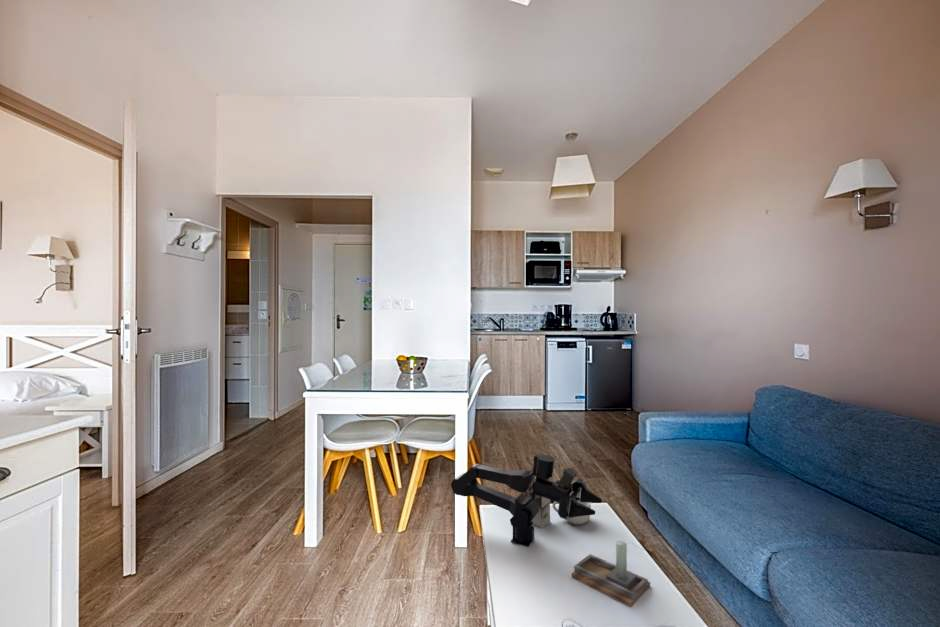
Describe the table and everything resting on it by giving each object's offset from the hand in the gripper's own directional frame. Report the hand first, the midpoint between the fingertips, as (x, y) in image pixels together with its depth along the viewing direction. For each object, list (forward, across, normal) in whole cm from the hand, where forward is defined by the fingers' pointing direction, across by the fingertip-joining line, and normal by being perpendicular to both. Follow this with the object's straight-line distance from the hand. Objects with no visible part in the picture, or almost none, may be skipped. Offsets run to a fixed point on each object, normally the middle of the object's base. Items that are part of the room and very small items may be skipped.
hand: (598, 506), depth 134 cm
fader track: (+7, -9, +16) cm, 20 cm away
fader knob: (+11, -10, +14) cm, 20 cm away
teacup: (-12, +22, +19) cm, 31 cm away
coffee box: (-24, +15, +21) cm, 35 cm away
